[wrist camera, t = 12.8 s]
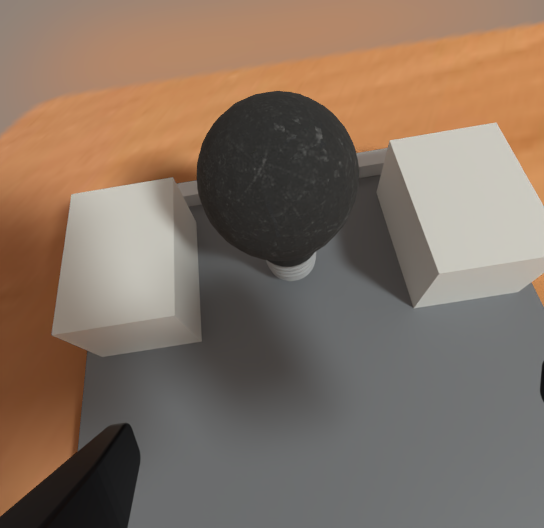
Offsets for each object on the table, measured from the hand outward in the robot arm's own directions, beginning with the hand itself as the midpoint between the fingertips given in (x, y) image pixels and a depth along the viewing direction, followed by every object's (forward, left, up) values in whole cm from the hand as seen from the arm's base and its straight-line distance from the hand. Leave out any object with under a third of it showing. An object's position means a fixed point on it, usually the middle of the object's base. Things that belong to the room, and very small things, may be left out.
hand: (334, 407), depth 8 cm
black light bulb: (+5, -6, -9) cm, 12 cm away
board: (+2, -3, -10) cm, 11 cm away
